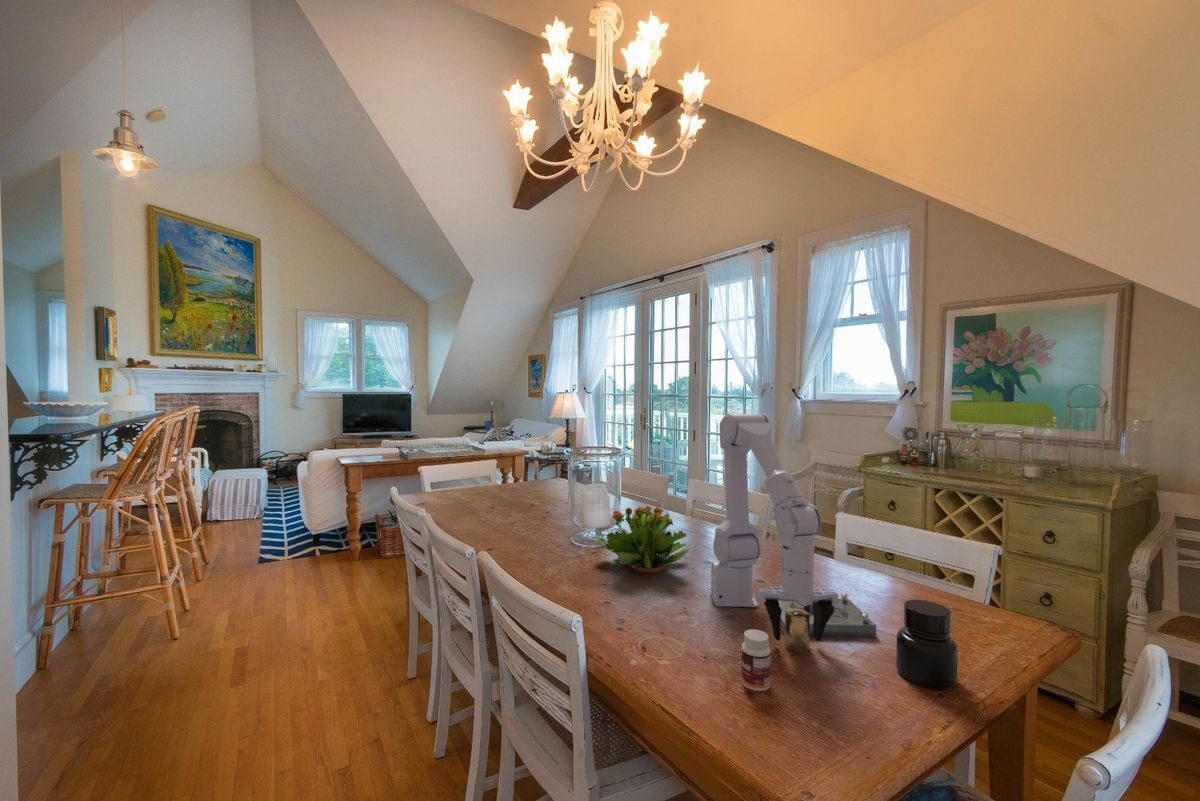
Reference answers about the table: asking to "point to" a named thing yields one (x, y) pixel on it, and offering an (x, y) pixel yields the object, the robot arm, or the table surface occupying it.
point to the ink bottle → (927, 646)
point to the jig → (836, 619)
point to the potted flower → (645, 540)
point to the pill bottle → (756, 660)
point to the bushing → (797, 630)
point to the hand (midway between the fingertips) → (796, 638)
